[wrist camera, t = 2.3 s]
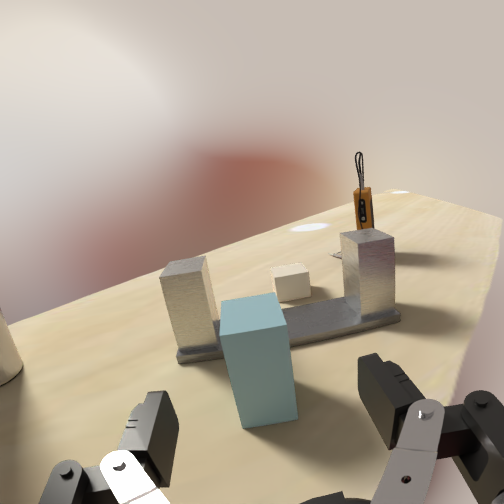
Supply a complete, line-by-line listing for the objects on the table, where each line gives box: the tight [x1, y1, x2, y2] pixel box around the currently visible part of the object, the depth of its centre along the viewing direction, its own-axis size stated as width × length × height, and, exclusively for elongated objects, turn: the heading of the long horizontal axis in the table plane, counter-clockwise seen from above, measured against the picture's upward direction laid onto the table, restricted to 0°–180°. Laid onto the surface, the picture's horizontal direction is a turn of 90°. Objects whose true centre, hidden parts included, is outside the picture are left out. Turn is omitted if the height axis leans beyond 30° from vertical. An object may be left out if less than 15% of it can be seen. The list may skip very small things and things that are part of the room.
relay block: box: [270, 262, 311, 302], centre depth 48 cm, size 5×5×4 cm
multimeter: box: [328, 152, 374, 258], centre depth 58 cm, size 15×10×20 cm
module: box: [219, 292, 298, 429], centre depth 25 cm, size 4×6×9 cm
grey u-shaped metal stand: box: [159, 228, 400, 364], centre depth 37 cm, size 26×8×10 cm, turn 94°
